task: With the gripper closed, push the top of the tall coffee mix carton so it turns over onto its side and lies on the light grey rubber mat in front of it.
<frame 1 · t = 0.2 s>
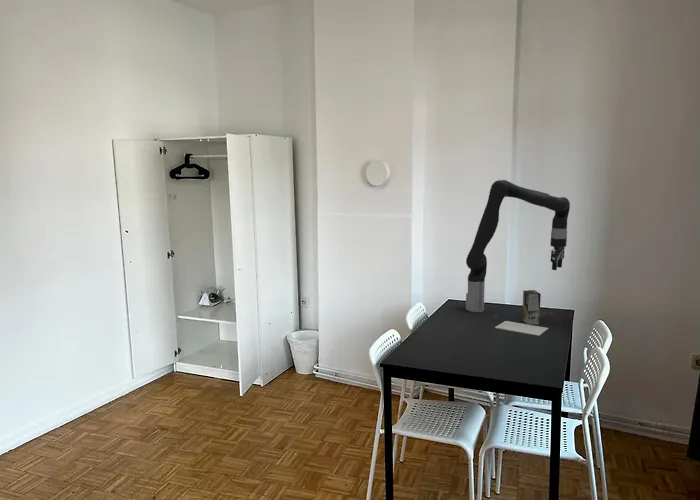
hand: (556, 268, 267), 29 cm above the table, tool pointing down, fingers open, 8 cm apart
coffee box: (530, 322, 273), on the table
grey mat: (521, 328, 262), on the table
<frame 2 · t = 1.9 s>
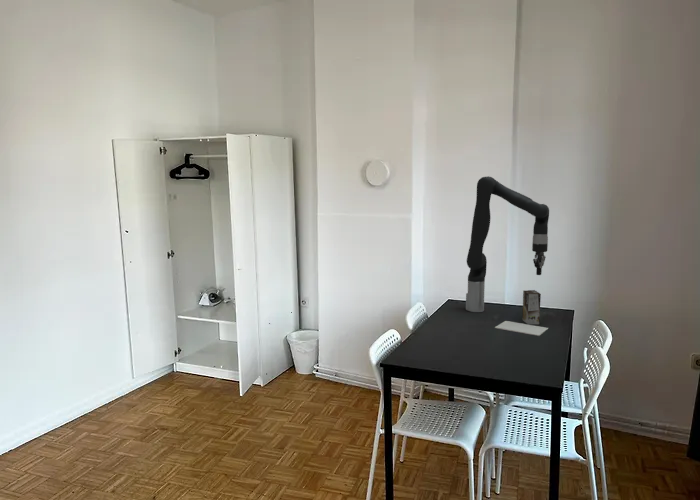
hand: (538, 274, 277), 23 cm above the table, tool pointing down, fingers closed
nothing on the table moved.
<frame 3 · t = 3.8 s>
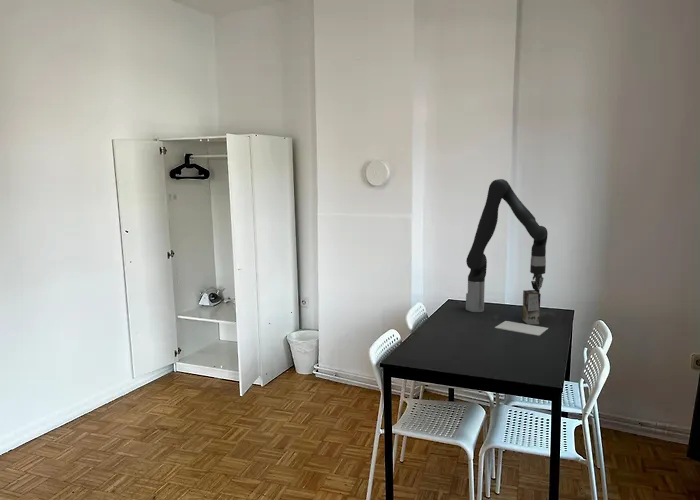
hand: (536, 296, 277), 12 cm above the table, tool pointing down, fingers closed
coffee box: (530, 322, 273), on the table, touching gripper
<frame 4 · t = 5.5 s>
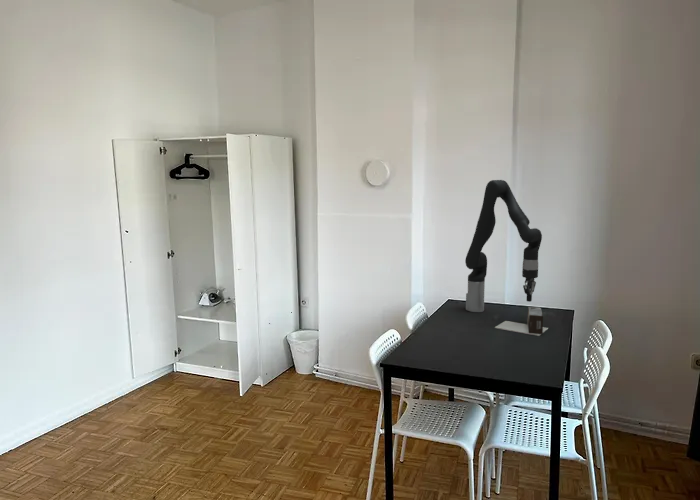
hand: (529, 301, 268), 12 cm above the table, tool pointing down, fingers closed
coffee box: (534, 315, 267), point 5 cm above the table, touching grey mat
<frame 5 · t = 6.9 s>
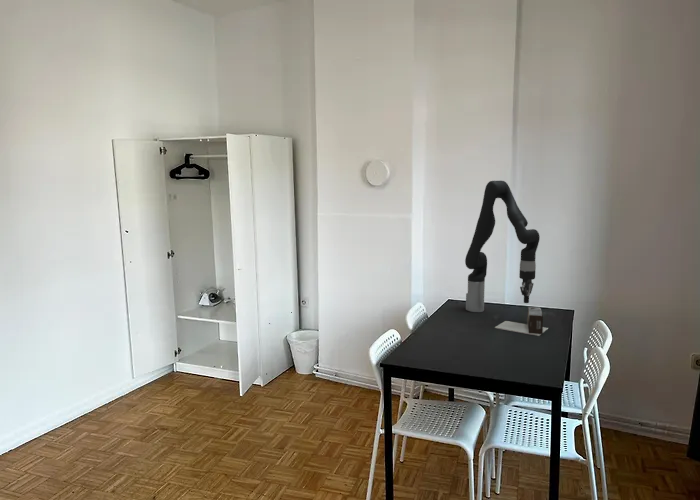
hand: (526, 302, 265), 12 cm above the table, tool pointing down, fingers closed
nothing on the table moved.
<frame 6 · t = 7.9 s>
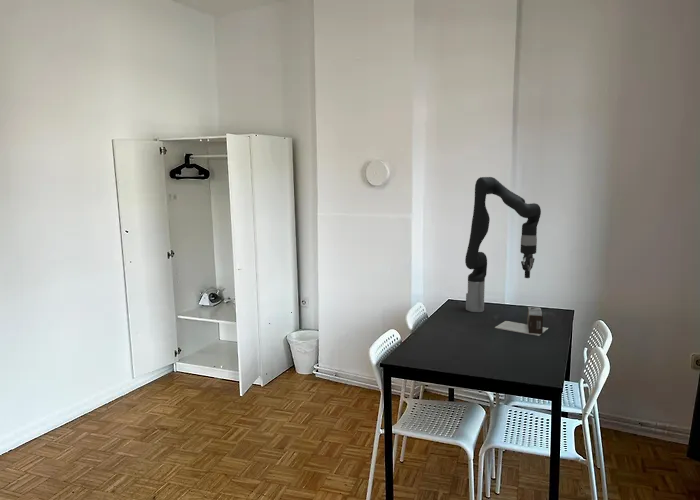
hand: (527, 277, 263), 25 cm above the table, tool pointing down, fingers closed
nothing on the table moved.
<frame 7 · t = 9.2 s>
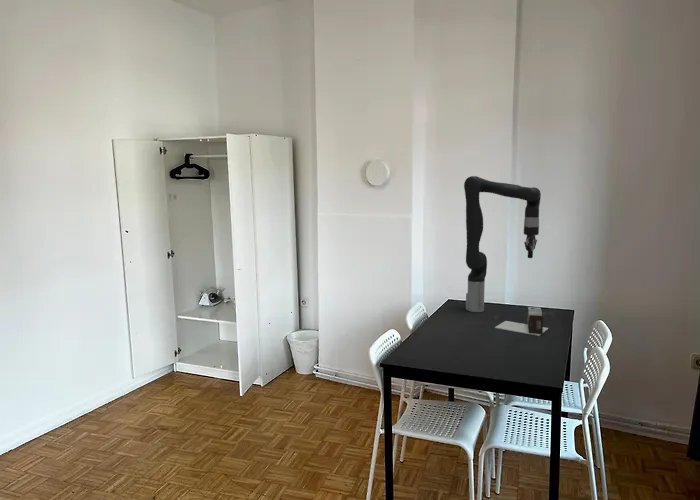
hand: (530, 257, 279), 32 cm above the table, tool pointing down, fingers closed
nothing on the table moved.
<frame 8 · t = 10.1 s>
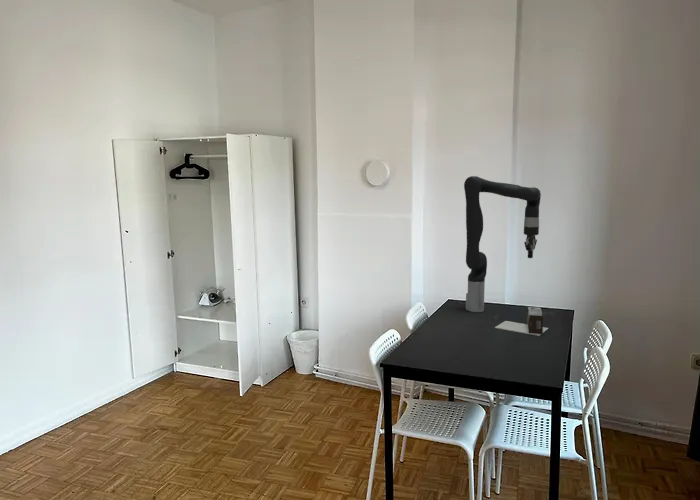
hand: (530, 257, 279), 32 cm above the table, tool pointing down, fingers closed
nothing on the table moved.
at the end: coffee box tilted 91°; coffee box touching grey mat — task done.
